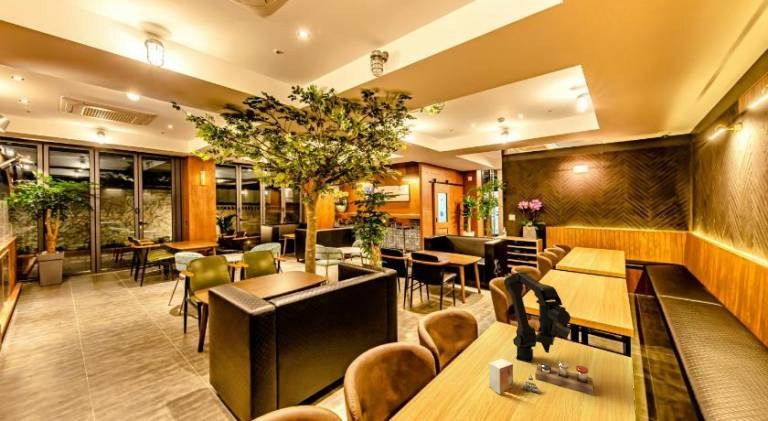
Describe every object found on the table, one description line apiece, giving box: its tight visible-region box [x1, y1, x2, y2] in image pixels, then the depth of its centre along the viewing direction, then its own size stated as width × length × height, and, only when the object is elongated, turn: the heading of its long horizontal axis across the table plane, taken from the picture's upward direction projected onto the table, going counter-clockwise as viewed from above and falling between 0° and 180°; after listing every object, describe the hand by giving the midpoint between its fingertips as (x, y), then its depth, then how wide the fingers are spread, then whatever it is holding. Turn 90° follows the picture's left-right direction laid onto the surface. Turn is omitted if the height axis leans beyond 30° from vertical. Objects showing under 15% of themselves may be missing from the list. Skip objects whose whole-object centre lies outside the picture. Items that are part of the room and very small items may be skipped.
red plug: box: [575, 365, 589, 384], centre depth 120 cm, size 4×4×6 cm
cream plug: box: [557, 360, 570, 379], centre depth 124 cm, size 4×4×6 cm
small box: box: [488, 358, 514, 395], centre depth 122 cm, size 8×6×10 cm
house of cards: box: [521, 374, 541, 395], centre depth 120 cm, size 9×9×8 cm
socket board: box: [534, 363, 594, 396], centre depth 124 cm, size 20×9×4 cm, turn 55°
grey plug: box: [540, 362, 552, 374], centre depth 128 cm, size 4×4×6 cm
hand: (547, 352), depth 127 cm, fingers closed
